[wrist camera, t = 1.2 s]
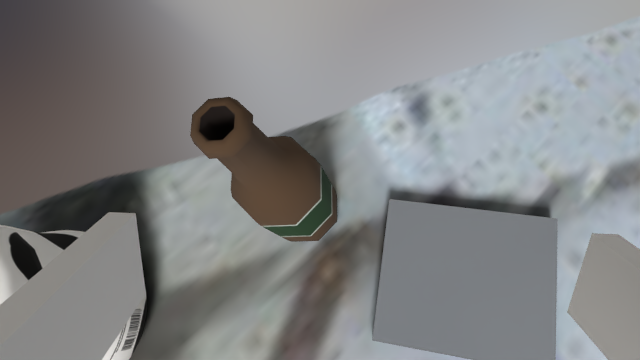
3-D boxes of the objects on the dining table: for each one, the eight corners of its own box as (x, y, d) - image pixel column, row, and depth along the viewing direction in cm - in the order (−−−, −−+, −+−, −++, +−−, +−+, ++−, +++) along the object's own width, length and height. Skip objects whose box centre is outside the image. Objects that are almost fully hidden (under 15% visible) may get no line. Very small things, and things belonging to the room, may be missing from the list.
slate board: (551, 221, 40) (557, 218, 39) (548, 372, 37) (555, 375, 35) (389, 202, 44) (389, 198, 42) (372, 338, 40) (372, 340, 39)
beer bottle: (324, 165, 46) (255, 38, 23) (352, 227, 44) (304, 151, 21) (263, 193, 47) (137, 95, 24) (287, 256, 44) (171, 213, 21)
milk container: (9, 282, 49) (-194, 274, 32) (131, 211, 49) (-9, 165, 32) (45, 427, 44) (-179, 509, 27) (182, 347, 43) (45, 379, 26)
